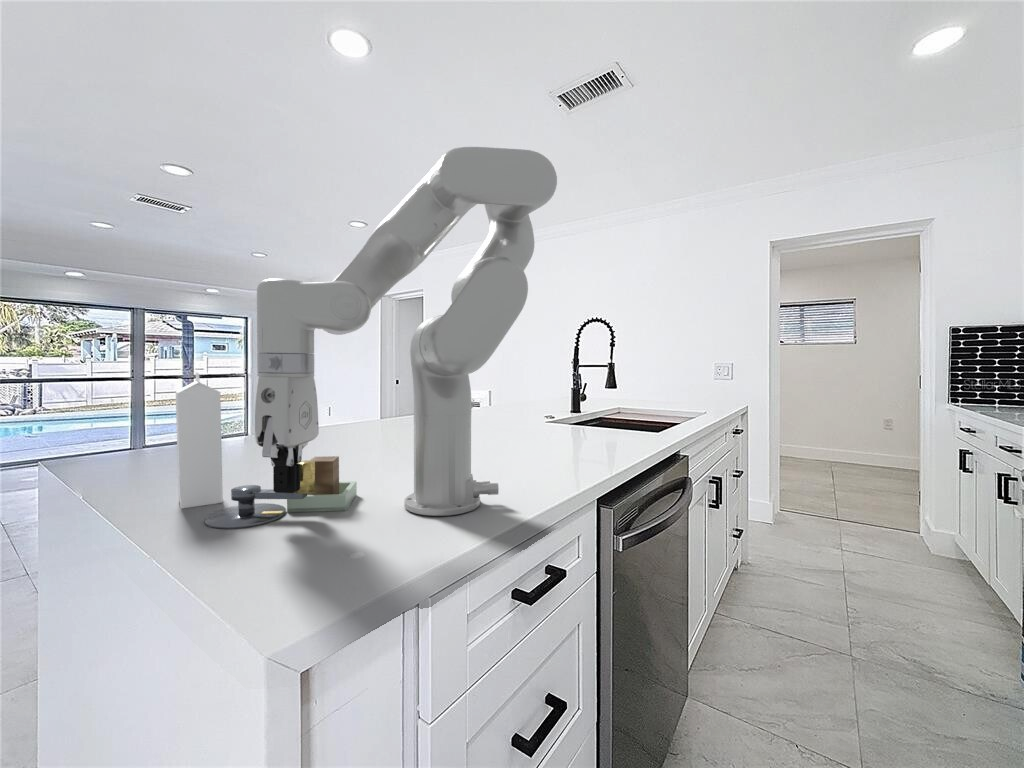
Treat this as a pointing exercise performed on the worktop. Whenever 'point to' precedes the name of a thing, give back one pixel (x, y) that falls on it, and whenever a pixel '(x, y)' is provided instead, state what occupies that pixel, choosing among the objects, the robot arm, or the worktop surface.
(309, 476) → the crank
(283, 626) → the worktop surface
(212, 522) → the crank base
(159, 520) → the worktop surface
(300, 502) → the tray
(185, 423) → the milk
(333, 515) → the worktop surface
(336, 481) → the block
